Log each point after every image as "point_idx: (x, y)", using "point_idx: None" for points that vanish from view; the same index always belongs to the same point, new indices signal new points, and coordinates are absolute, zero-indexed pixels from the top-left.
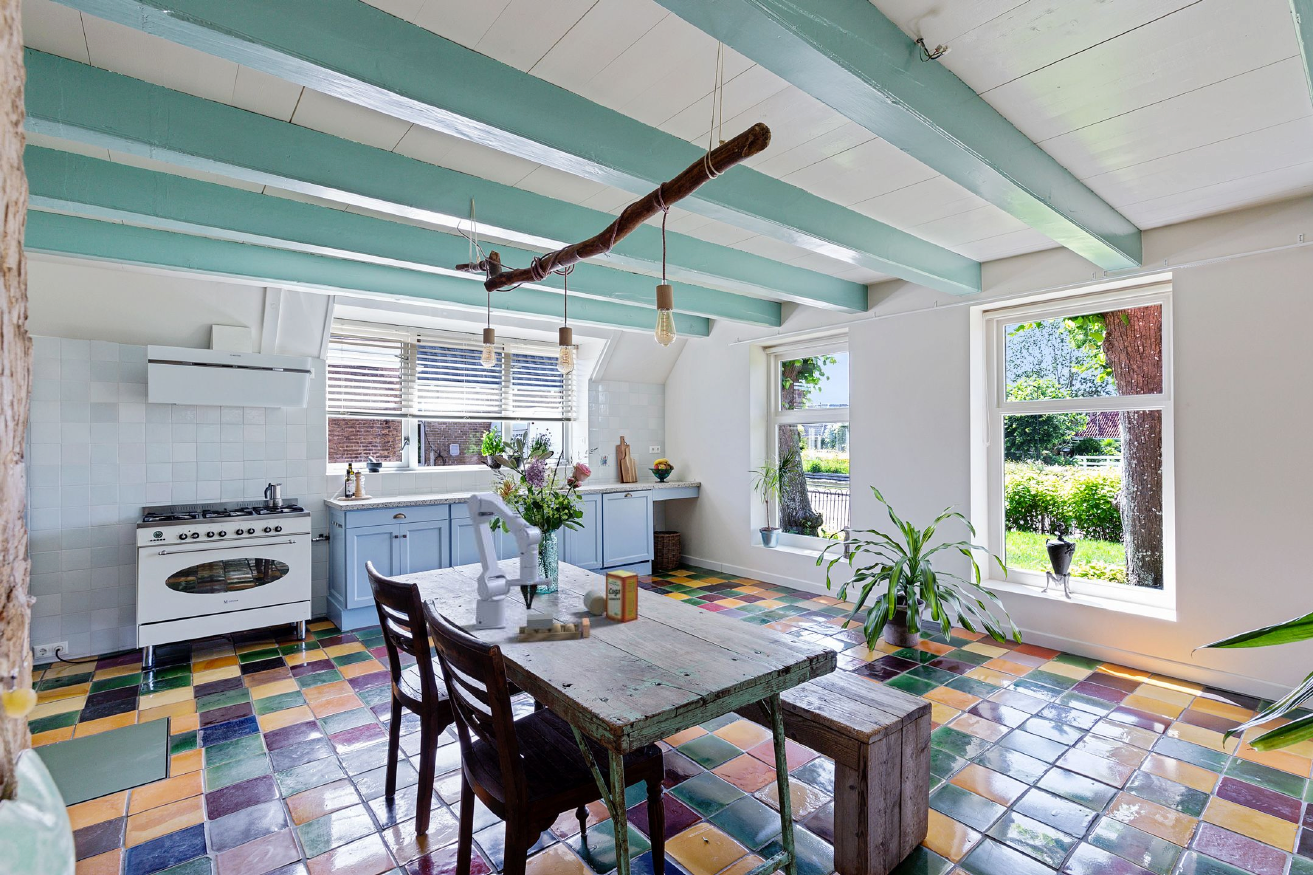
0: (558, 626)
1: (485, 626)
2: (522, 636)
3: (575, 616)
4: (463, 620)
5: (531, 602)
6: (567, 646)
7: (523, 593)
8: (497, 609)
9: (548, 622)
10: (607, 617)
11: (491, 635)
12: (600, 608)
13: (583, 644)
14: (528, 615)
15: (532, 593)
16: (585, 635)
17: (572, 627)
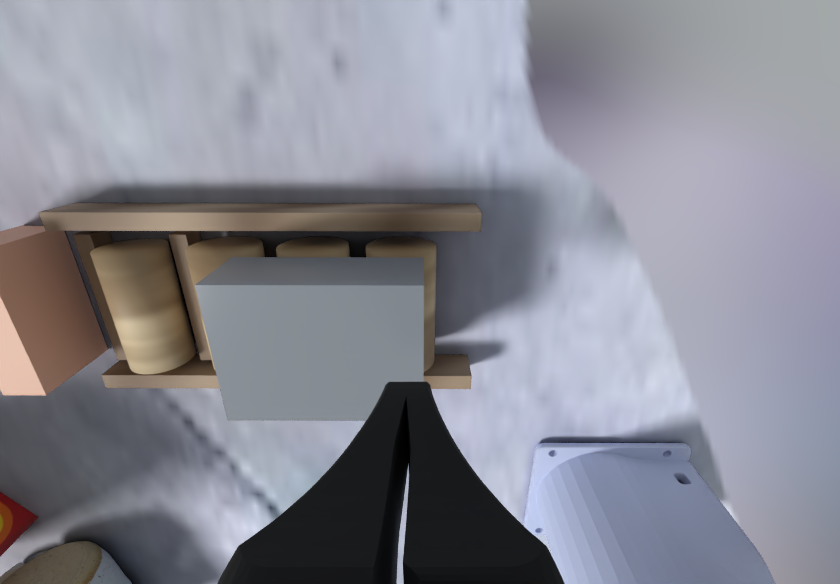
0: None
1: (641, 458)
2: (452, 211)
3: (195, 541)
4: None
5: (370, 421)
6: (126, 42)
7: (488, 513)
8: (621, 542)
9: (246, 273)
10: (23, 509)
11: (622, 345)
12: (39, 573)
13: (17, 70)
14: None
15: (332, 510)
16: (39, 228)
17: (106, 287)
